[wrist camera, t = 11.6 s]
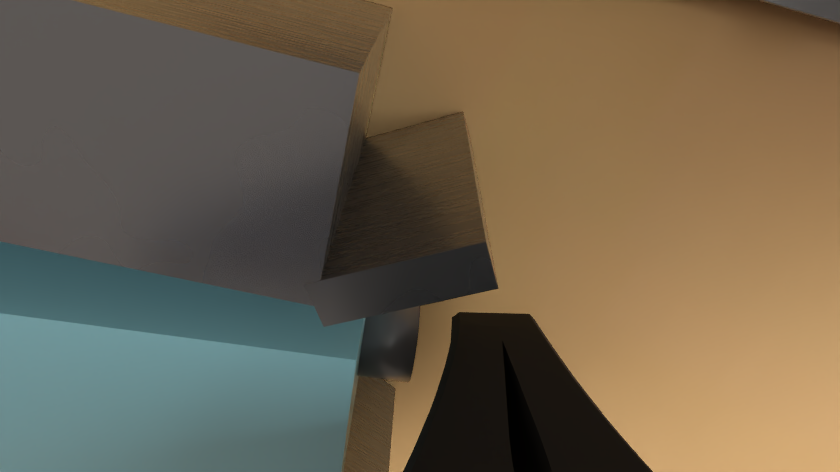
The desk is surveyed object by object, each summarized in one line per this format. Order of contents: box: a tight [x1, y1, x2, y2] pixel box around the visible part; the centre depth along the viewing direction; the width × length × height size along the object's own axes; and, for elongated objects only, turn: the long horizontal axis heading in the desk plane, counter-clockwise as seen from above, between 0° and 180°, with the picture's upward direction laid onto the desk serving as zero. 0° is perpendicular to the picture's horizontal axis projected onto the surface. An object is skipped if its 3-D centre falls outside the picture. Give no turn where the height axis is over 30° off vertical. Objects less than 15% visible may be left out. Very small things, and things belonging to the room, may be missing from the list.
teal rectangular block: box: [0, 242, 420, 472], centre depth 9 cm, size 7×4×4 cm, turn 81°
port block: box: [0, 0, 498, 472], centre depth 8 cm, size 9×10×5 cm
